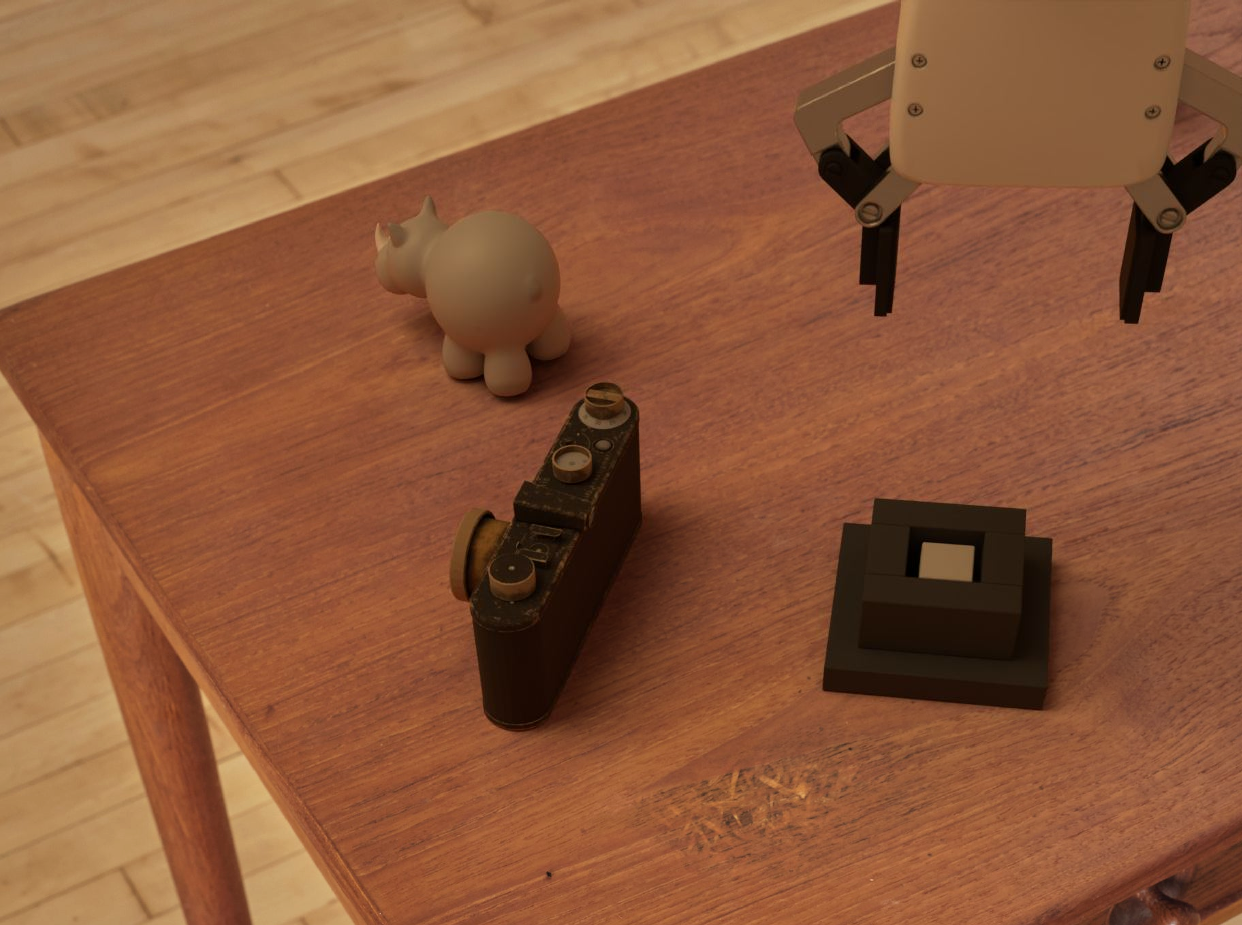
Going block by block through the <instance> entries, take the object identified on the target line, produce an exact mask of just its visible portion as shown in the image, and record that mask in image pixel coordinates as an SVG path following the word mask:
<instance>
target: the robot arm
mask: <svg viewBox="0 0 1242 925" xmlns="http://www.w3.org/2000/svg"><path fill="white" fill-rule="evenodd" d="M1191 5H1192V0H901V1H900V9H899V18H898V25H897V33H896V34H897V35H896V40H895V45H893V46H892V47H889V48H887V49H885V50H883V51H881V52H879V53H877V54H874V55H872V56H871V57H869V58H866V59H864V60H863V61H860V62H858V63H856V64H853V65H851V66H850V67H848V68H845V69H844V70H841V71H840V72H837V73H835V74H833V75H830V76H829V77H827V78H825V79H823V80H821V81H819V82H817V83H814V84H812V85H810V86H808V87H807V88H804V89H802V90H801V91H800V92H799V93H798V95H797V96H796V100H795V106H794V111H793V118H792V119H793V122H794V125H795V127H796V129H797V131H798V133H799V135H800V137H801V139H802V141H803V143H804V145H805V146H806V148H807V150H808V152H809V155H810V156H812V158H813V160H814V161H815V163H816V165H817V172H818V176H819V177H820V178H821V179H822V181H824V182H825V183H826V184H827V185H828V186H829V187H830V188H831V189H832V190H833V191H834V192H835V193H836V194H837V195H838V196H839V197H840V198H841V199H842V200H843V201H844V202H845V203H847V205H849V207H851V208H852V210H854V218H855V221H856V222H857V223H858V224H859V225H860V226H861V241H860V242H861V243H860V257H859V258H860V261H859V278H858V285H859V286H875V291H874V292H875V296H874V306H873V317H880V318H881V317H883V318H884V317H885V318H886V317H887V316H888V314H893V307H894V296H895V288H896V286H895V285H896V278H897V267H898V254H899V243H900V241H899V240H900V227H901V216H902V215H901V214H902V204H903V203H904V202H905V201H906V200H907V199H908V198H909V197H910V196H911V195H912V194H914V192H915V191H917V189H919V187H921V185H930V186H941V187H942V186H943V187H971V188H972V187H974V188H975V187H976V188H1014V189H1015V188H1016V189H1017V188H1018V189H1019V188H1022V189H1023V188H1025V189H1026V188H1027V189H1028V188H1029V189H1117V188H1118V189H1119V188H1124V189H1125V191H1126V193H1128V195H1129V196H1130V197H1131V199H1132V200H1133V202H1132V207H1131V213H1130V218H1129V224H1128V229H1127V234H1126V240H1125V243H1124V244H1125V245H1124V251H1123V256H1122V261H1121V267H1120V271H1119V278H1118V279H1119V280H1118V297H1119V298H1118V299H1119V300H1118V302H1119V303H1118V306H1119V308H1118V309H1119V313H1118V314H1119V315H1118V316H1119V321H1123V323H1124V325H1138V324H1139V322H1140V317H1141V314H1142V313H1141V312H1142V308H1143V304H1144V298H1145V293H1153V294H1154V293H1157V294H1158V293H1159V294H1160V293H1161V291H1162V287H1163V283H1164V278H1165V274H1166V269H1167V264H1168V259H1169V254H1170V250H1171V244H1172V240H1173V236H1174V235H1173V234H1174V233H1177V232H1178V231H1179V230H1181V229H1182V228H1183V227H1184V226H1185V224H1186V222H1187V219H1188V218H1187V217H1188V216H1189V215H1190V214H1192V213H1193V212H1194V211H1196V210H1197V209H1198V208H1200V207H1201V206H1203V205H1204V204H1205V203H1207V202H1208V201H1210V200H1211V199H1213V198H1214V197H1215V196H1216V195H1218V194H1220V192H1222V191H1224V190H1225V189H1226V188H1228V187H1230V185H1231V184H1232V183H1234V181H1235V179H1236V177H1237V173H1238V171H1239V169H1241V167H1242V77H1241V76H1239V75H1238V74H1236V73H1234V72H1232V71H1230V70H1228V69H1227V68H1224V67H1223V66H1222V65H1220V64H1217V63H1215V62H1214V61H1212V60H1210V59H1208V58H1206V57H1204V56H1203V55H1201V54H1199V53H1197V52H1195V51H1193V50H1192V49H1190V48H1187V39H1188V31H1189V24H1190V16H1191V15H1190V14H1191V7H1192V6H1191ZM888 100H890V108H889V128H888V129H889V130H888V132H889V136H888V137H889V138H888V139H887V141H886V142H885V143H884V144H883V145H882V146H881V147H879V149H878V150H877V151H876V152H875V153H874V154H873V155H872V156H870V155H869V154H868V153H867V152H866V151H865V150H864V149H863V148H862V147H861V146H860V145H859V144H858V143H857V142H856V141H855V140H854V139H853V138H852V137H851V136H850V135H849V134H847V133H846V132H845V129H844V128H843V123H842V122H844V121H845V120H847V119H850V118H852V117H854V116H857V115H858V114H860V113H863V112H864V111H867V110H869V109H872V108H874V107H875V106H878V105H880V104H882V103H884V102H886V101H888ZM1178 102H1180V103H1181V104H1183V105H1185V106H1187V107H1188V108H1191V109H1193V110H1194V111H1196V112H1198V113H1200V114H1201V115H1203V116H1205V117H1208V118H1209V119H1211V120H1213V121H1215V122H1217V123H1219V124H1220V125H1221V126H1219V128H1218V129H1217V133H1215V135H1214V136H1212V137H1209V139H1207V140H1206V141H1204V142H1203V143H1202V144H1201V145H1199V146H1198V147H1196V148H1195V149H1194V150H1192V151H1191V152H1190V153H1188V154H1187V155H1186V156H1184V157H1183V158H1181V159H1180V160H1179V161H1177V160H1176V158H1175V157H1174V156H1173V154H1172V153H1171V151H1170V144H1171V140H1172V135H1173V131H1174V126H1175V120H1176V113H1177V108H1178Z"/></svg>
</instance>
